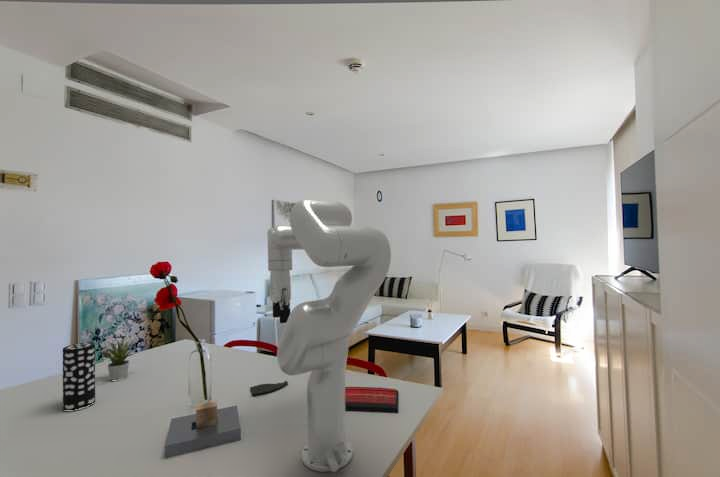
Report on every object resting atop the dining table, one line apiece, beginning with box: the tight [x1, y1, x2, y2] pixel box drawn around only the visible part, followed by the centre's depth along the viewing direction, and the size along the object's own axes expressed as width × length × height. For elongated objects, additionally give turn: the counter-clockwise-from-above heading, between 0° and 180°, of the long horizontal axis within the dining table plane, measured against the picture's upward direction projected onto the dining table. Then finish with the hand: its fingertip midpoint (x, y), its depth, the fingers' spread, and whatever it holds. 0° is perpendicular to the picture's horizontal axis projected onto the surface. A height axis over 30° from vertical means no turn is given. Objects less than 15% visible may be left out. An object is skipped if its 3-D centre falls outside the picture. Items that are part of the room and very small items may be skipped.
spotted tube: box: [62, 341, 96, 410], centre depth 111 cm, size 8×8×20 cm
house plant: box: [98, 337, 141, 381], centre depth 135 cm, size 14×14×16 cm
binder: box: [345, 386, 399, 414], centre depth 111 cm, size 16×2×21 cm
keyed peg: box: [195, 400, 218, 429], centre depth 92 cm, size 5×3×8 cm, turn 113°
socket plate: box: [164, 404, 242, 459], centre depth 92 cm, size 14×18×3 cm
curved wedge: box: [249, 380, 289, 398], centre depth 121 cm, size 8×14×2 cm, turn 114°
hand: (281, 319), depth 105 cm, fingers open, 9 cm apart
